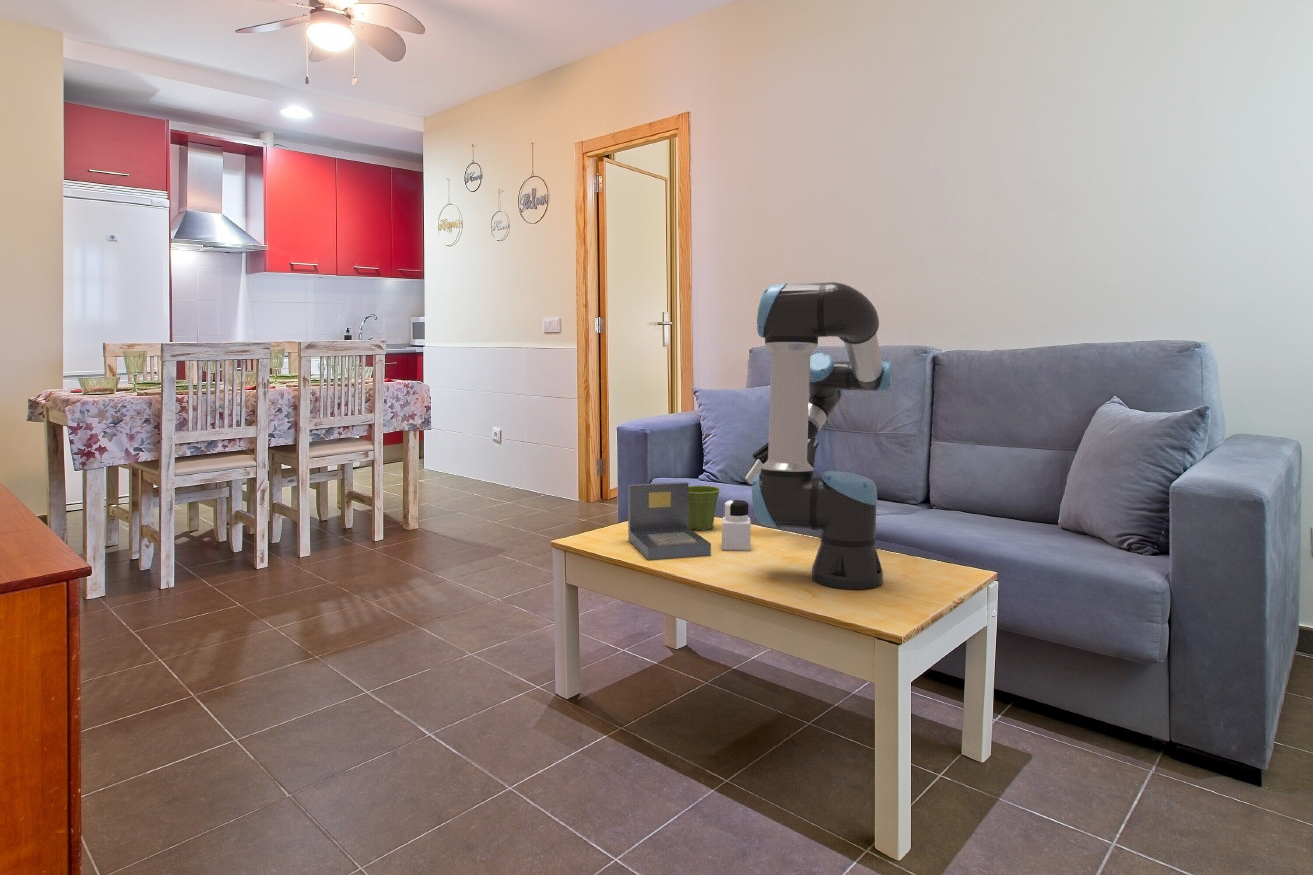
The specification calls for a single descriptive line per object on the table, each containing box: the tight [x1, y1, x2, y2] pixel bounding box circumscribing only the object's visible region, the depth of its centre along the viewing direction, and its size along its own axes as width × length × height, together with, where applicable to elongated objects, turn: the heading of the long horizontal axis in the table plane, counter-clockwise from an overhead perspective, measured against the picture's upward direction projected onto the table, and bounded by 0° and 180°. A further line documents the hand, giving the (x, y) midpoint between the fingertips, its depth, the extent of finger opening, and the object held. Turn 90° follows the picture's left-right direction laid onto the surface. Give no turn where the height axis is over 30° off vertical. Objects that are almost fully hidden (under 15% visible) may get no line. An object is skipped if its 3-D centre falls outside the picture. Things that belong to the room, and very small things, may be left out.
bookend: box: [627, 481, 712, 560], centre depth 195 cm, size 20×16×15 cm
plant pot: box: [688, 485, 722, 531], centre depth 218 cm, size 12×12×11 cm
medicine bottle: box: [721, 499, 752, 552], centre depth 196 cm, size 7×7×12 cm
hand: (766, 484), depth 202 cm, fingers open, 13 cm apart
